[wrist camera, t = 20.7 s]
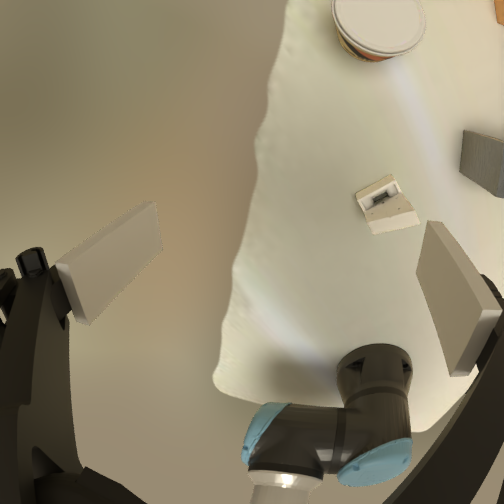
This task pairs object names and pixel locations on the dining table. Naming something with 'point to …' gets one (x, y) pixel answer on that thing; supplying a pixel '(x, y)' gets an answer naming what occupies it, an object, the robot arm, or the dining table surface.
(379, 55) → the coffee cup
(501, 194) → the housing
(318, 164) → the dining table surface
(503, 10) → the plug
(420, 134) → the dining table surface
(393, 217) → the white angled block
